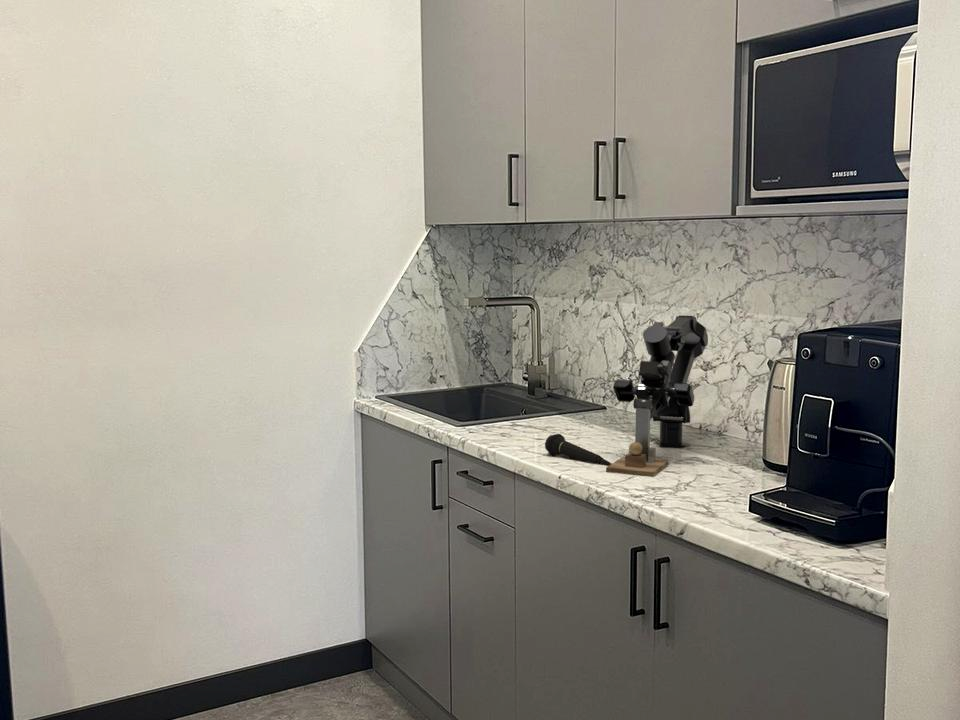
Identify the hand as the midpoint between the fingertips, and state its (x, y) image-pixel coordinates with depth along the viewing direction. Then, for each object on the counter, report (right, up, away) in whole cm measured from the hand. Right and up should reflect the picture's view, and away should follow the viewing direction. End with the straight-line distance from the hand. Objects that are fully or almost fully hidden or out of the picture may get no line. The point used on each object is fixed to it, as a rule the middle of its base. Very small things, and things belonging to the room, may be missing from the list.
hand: (646, 420), depth 229 cm
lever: (-1, -8, -1) cm, 9 cm away
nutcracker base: (-3, -11, -4) cm, 12 cm away
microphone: (-16, -10, +5) cm, 20 cm away
